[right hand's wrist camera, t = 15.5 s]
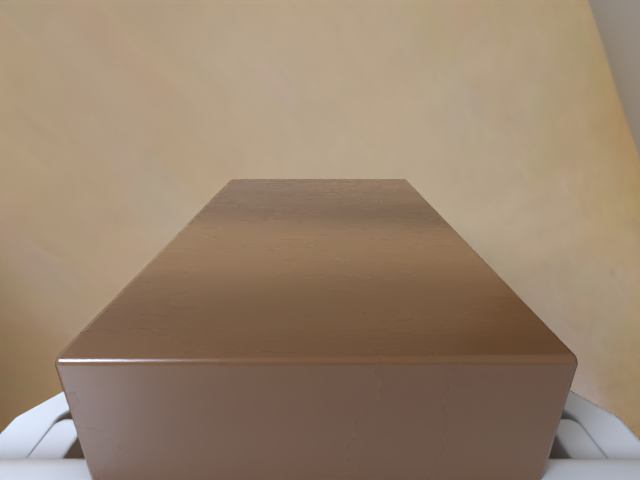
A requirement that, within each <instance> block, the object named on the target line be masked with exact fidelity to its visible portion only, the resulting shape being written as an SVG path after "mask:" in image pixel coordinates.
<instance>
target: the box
mask: <svg viewBox="0 0 640 480" xmlns="http://www.w3.org/2000/svg"><path fill="white" fill-rule="evenodd" d="M577 364H578V363H577V358H576V356H575V355H574V354H573V353H572V352H571V351H570V350H569V349H568V348H567V346H566V345H565V344H564V343H563V342H562V341H561V340H560V339H559V338H558V337H557V336H556V335H555V334H554V333H553V332H552V331H551V330H550V329H549V328H548V327H547V326H546V325H545V324H544V323H543V322H542V321H541V320H540V318H539V317H538V316H537V315H536V314H535V313H534V312H533V311H532V310H531V309H530V308H529V307H528V306H527V305H526V304H525V303H524V302H523V301H522V300H521V299H520V298H519V297H518V296H517V295H516V294H515V293H514V291H513V290H512V289H511V288H510V287H509V286H508V285H507V284H506V283H505V282H504V281H503V280H502V279H501V278H500V277H499V276H498V275H497V274H496V273H495V272H494V271H493V270H492V269H491V268H490V267H489V266H488V265H487V263H486V262H485V261H484V260H483V259H482V258H481V257H480V256H479V255H478V254H477V253H476V252H475V251H474V250H473V249H472V248H471V247H470V246H469V245H468V244H467V243H466V242H465V241H464V240H463V239H462V238H461V237H460V235H459V234H458V233H457V232H456V231H455V230H454V229H453V228H452V227H451V226H450V225H449V224H448V223H447V222H446V221H445V220H444V219H443V218H442V217H441V216H440V215H439V214H438V213H437V212H436V211H435V210H434V208H433V207H432V206H431V205H430V204H429V203H428V202H427V201H426V200H425V199H424V198H423V197H422V196H421V195H420V194H419V193H418V192H417V191H416V190H415V189H414V188H413V187H412V186H411V185H410V184H409V183H408V182H407V180H405V179H232V180H230V181H229V182H228V183H227V184H226V185H225V186H224V187H223V188H222V189H221V190H220V191H219V192H218V194H217V195H216V196H215V197H214V198H213V199H212V200H211V201H210V202H209V203H208V204H207V205H206V206H205V207H204V208H203V209H202V210H201V211H200V212H199V213H198V214H197V215H196V216H195V217H194V218H193V219H192V220H191V221H190V222H189V223H188V224H187V225H186V226H185V227H184V228H183V229H182V230H181V231H180V232H179V233H178V234H177V235H176V236H175V237H174V238H173V239H172V240H171V241H170V242H169V243H168V244H167V245H166V246H165V247H164V248H163V249H162V250H161V251H160V252H159V253H158V255H157V256H156V257H155V258H154V259H153V260H152V261H151V262H150V263H149V264H148V265H147V266H146V267H145V268H144V269H143V270H142V271H141V272H140V273H139V274H138V275H137V276H136V277H135V278H134V279H133V280H132V281H131V282H130V283H129V284H128V285H127V286H126V287H125V288H124V289H123V290H122V291H121V292H120V293H119V294H118V295H117V296H116V297H115V298H114V299H113V300H112V301H111V302H110V303H109V304H108V305H107V306H106V307H105V308H104V309H103V310H102V311H101V312H100V313H99V315H98V316H97V317H96V318H95V319H94V320H93V321H92V322H91V323H90V324H89V325H88V326H87V327H86V328H85V329H84V330H83V331H82V332H81V333H80V334H79V335H78V336H77V337H76V338H75V339H74V340H73V341H72V342H71V343H70V344H69V345H68V346H67V347H66V348H65V349H64V350H63V351H62V352H61V353H60V354H59V355H58V356H57V358H56V362H55V366H56V369H57V372H58V375H59V378H60V381H61V385H62V388H63V391H64V394H65V397H66V400H67V403H68V407H69V410H70V413H71V416H72V419H73V422H74V425H75V429H76V432H77V435H78V438H79V441H80V444H81V447H82V451H83V454H84V457H85V460H86V463H87V466H88V469H89V473H90V476H91V479H92V480H541V479H542V478H543V474H544V471H545V468H546V465H547V461H548V458H549V455H550V452H551V448H552V445H553V442H554V439H555V436H556V432H557V429H558V426H559V423H560V419H561V416H562V413H563V410H564V406H565V403H566V400H567V397H568V394H569V390H570V387H571V384H572V381H573V377H574V374H575V371H576V368H577Z"/></svg>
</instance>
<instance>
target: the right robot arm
mask: <svg viewBox="0 0 640 480" xmlns="http://www.w3.org/2000/svg"><path fill="white" fill-rule="evenodd" d="M0 480H92V479H91V476H90V473H89V469H88V466H87V463H86V460H85V457H84V454H83V451H82V447H81V444H80V441H79V438H78V435H77V432H76V429H75V425H74V422H73V419H72V416H71V413H70V410H69V407H68V403H67V400H66V397H65V394H64V391H63V392H62V393H60V394H58V395H56V396H54V397H52V398H51V399H49V400H47V401H45V402H43V403H41V404H40V405H38V406H36V407H34V408H32V409H30V410H29V411H27V412H25V413H23V414H21V415H20V416H18V417H16V418H15V419H14V420H13V421H12V422H11V423H10V424H9V425H8V427H7V428H6V429H5V430H4V431H3V432H2V433H1V434H0ZM541 480H640V440H639V439H638V438H637V436H636V435H635V434H634V433H633V432H632V431H631V430H630V429H629V428H628V427H627V425H626V424H625V423H624V422H623V421H622V420H621V419H620V418H619V417H617V416H615V415H613V414H612V413H610V412H608V411H606V410H604V409H602V408H601V407H599V406H597V405H595V404H593V403H592V402H590V401H588V400H586V399H584V398H583V397H581V396H579V395H577V394H575V393H574V392H572V391H570V390H569V394H568V397H567V400H566V403H565V406H564V410H563V413H562V416H561V419H560V423H559V426H558V429H557V432H556V436H555V439H554V442H553V445H552V448H551V452H550V455H549V458H548V461H547V465H546V468H545V471H544V474H543V478H542V479H541Z"/></svg>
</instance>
